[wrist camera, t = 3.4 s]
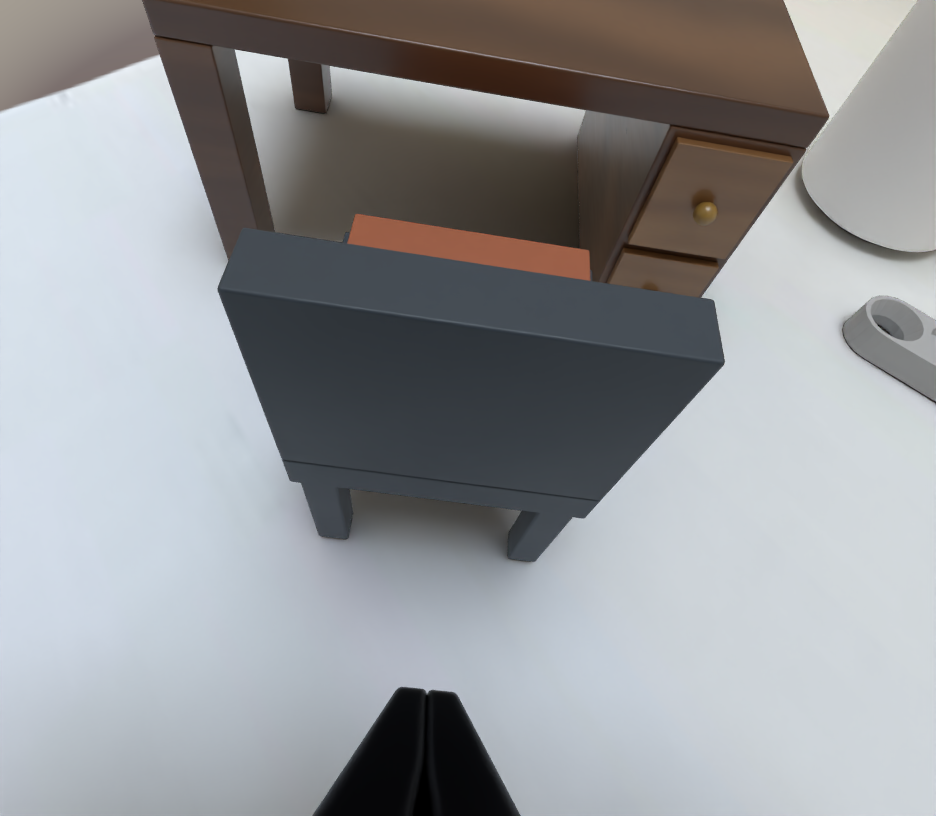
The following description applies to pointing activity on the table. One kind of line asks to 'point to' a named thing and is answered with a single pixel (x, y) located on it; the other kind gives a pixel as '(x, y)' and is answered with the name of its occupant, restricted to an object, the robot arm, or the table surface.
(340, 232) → the table surface
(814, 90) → the desk
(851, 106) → the beverage can
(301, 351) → the chair
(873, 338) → the adjustable wrench
